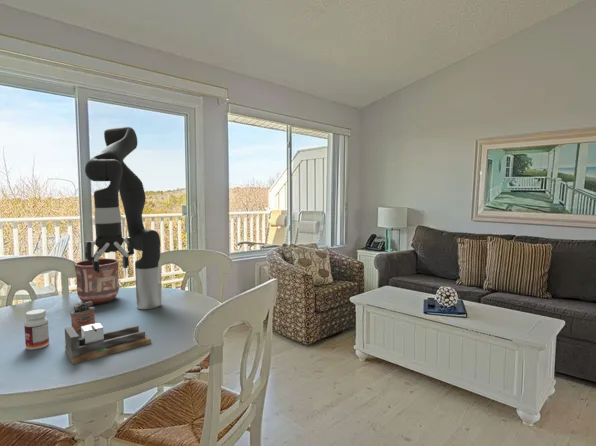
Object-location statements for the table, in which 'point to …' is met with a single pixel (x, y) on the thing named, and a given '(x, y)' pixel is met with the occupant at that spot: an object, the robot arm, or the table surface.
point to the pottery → (97, 281)
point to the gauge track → (103, 343)
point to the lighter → (82, 316)
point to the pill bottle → (36, 329)
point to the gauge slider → (92, 333)
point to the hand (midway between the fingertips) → (111, 270)
